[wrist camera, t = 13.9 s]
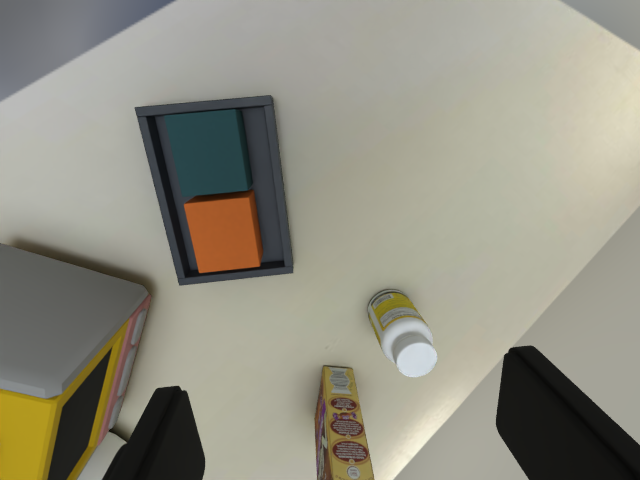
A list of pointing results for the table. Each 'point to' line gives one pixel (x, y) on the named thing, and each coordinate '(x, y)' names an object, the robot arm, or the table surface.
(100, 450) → the white round vase
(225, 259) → the orange block
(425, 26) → the table surface
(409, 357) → the supplement bottle
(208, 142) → the dark teal block
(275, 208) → the tray
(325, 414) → the candy box
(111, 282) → the yellow toy microwave
